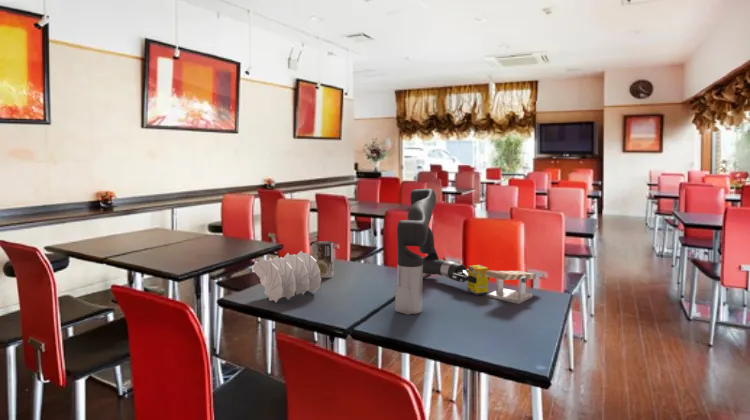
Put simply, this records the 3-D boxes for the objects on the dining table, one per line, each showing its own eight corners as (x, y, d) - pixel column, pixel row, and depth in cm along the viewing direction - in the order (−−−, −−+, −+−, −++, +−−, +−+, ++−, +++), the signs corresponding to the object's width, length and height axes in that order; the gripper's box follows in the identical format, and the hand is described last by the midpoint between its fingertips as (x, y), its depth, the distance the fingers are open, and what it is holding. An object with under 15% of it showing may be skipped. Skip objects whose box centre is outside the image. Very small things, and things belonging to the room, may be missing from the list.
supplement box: (467, 291, 194) (468, 265, 192) (478, 289, 196) (480, 264, 195) (476, 295, 188) (477, 268, 187) (487, 293, 191) (489, 267, 189)
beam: (503, 280, 174) (504, 274, 174) (484, 276, 179) (485, 270, 179) (535, 278, 194) (535, 273, 194) (517, 275, 200) (518, 270, 200)
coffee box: (334, 274, 222) (334, 241, 220) (331, 278, 215) (331, 243, 213) (315, 274, 223) (315, 240, 221) (312, 277, 216) (311, 243, 214)
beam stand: (518, 303, 179) (519, 281, 178) (488, 296, 188) (489, 275, 187) (532, 297, 188) (533, 275, 187) (502, 290, 197) (503, 269, 196)
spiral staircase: (320, 302, 193) (269, 313, 175) (297, 276, 203) (246, 285, 185) (334, 266, 186) (282, 274, 168) (309, 241, 197) (258, 247, 179)
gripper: (441, 264, 199) (470, 272, 185) (465, 260, 207) (494, 268, 193) (440, 281, 199) (469, 291, 186) (464, 277, 208) (493, 285, 194)
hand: (482, 279), depth 190 cm, fingers closed on supplement box, 6 cm apart
